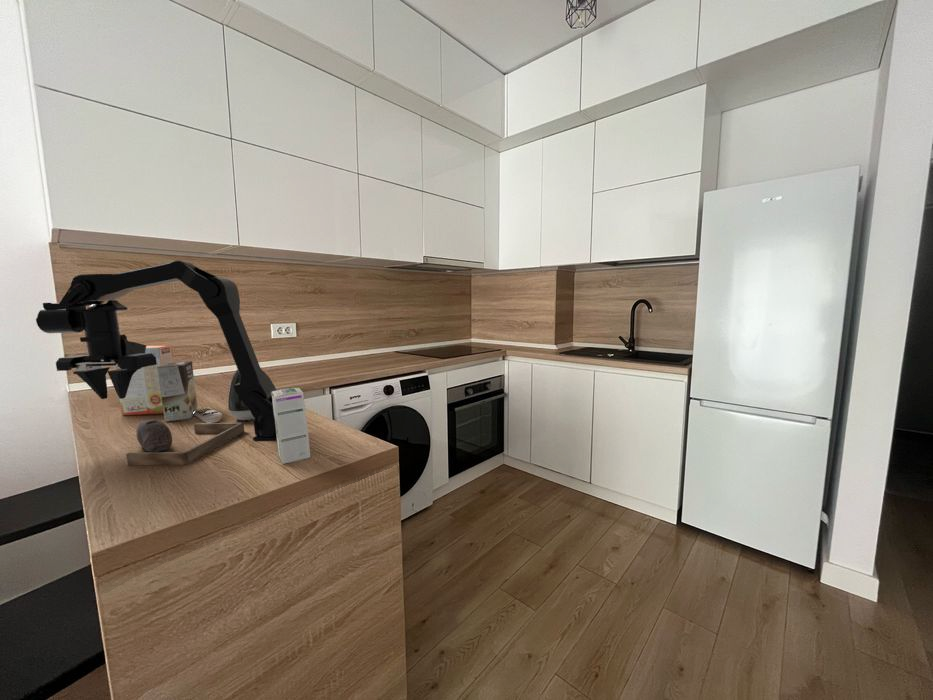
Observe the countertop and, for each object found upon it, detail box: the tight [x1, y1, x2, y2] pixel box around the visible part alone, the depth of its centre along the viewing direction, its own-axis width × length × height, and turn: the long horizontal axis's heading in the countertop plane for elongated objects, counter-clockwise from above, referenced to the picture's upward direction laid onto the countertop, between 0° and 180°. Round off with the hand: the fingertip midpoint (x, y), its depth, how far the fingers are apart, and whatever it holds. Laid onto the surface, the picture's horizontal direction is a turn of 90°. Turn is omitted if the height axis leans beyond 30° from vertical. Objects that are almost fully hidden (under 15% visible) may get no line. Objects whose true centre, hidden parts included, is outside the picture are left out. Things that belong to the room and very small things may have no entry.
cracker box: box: [113, 344, 175, 416], centre depth 118 cm, size 14×6×21 cm, turn 92°
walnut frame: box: [125, 422, 245, 466], centre depth 88 cm, size 13×19×2 cm, turn 178°
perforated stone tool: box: [135, 418, 173, 452], centre depth 88 cm, size 15×5×7 cm, turn 50°
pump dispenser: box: [227, 368, 255, 422], centre depth 109 cm, size 10×10×15 cm
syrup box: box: [272, 387, 311, 465], centre depth 80 cm, size 6×6×14 cm
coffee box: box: [157, 360, 199, 423], centre depth 112 cm, size 9×6×16 cm
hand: (113, 398), depth 87 cm, fingers open, 4 cm apart
